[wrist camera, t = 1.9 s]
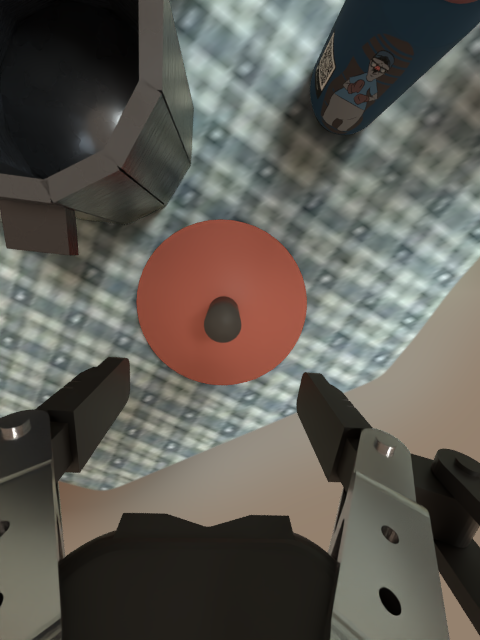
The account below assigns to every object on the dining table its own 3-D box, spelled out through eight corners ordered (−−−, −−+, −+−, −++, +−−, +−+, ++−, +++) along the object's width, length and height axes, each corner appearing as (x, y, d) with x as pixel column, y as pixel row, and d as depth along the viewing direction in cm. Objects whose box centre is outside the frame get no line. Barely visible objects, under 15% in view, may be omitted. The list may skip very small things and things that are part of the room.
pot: (200, -33, 18) (169, -368, 8) (186, 262, 24) (159, 267, 14) (-33, -87, 16) (-400, -568, 7) (16, 242, 23) (-138, 233, 13)
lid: (314, 234, 24) (349, 226, 17) (286, 380, 29) (304, 419, 22) (144, 211, 23) (107, 192, 16) (144, 369, 28) (116, 408, 21)
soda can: (379, 44, 20) (590, -247, 8) (376, 136, 22) (544, 3, 10) (302, 54, 20) (409, -226, 8) (307, 146, 22) (398, 23, 10)
